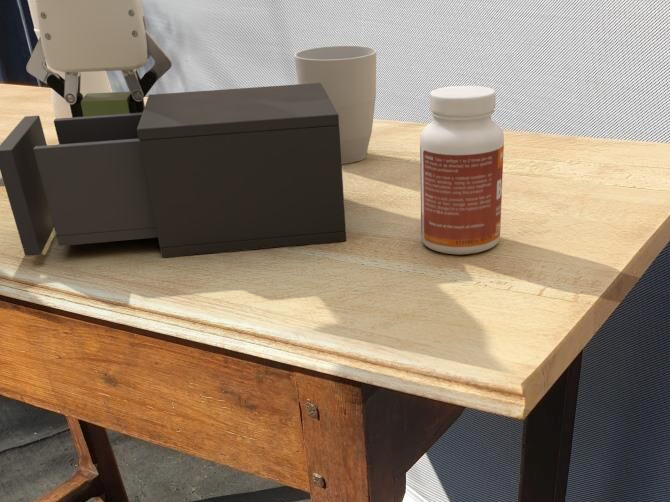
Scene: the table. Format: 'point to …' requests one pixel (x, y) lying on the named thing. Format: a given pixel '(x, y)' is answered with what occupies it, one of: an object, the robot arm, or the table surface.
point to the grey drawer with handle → (77, 181)
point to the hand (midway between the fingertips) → (113, 138)
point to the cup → (345, 91)
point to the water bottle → (89, 80)
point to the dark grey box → (243, 168)
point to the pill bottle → (461, 171)
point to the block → (105, 103)
